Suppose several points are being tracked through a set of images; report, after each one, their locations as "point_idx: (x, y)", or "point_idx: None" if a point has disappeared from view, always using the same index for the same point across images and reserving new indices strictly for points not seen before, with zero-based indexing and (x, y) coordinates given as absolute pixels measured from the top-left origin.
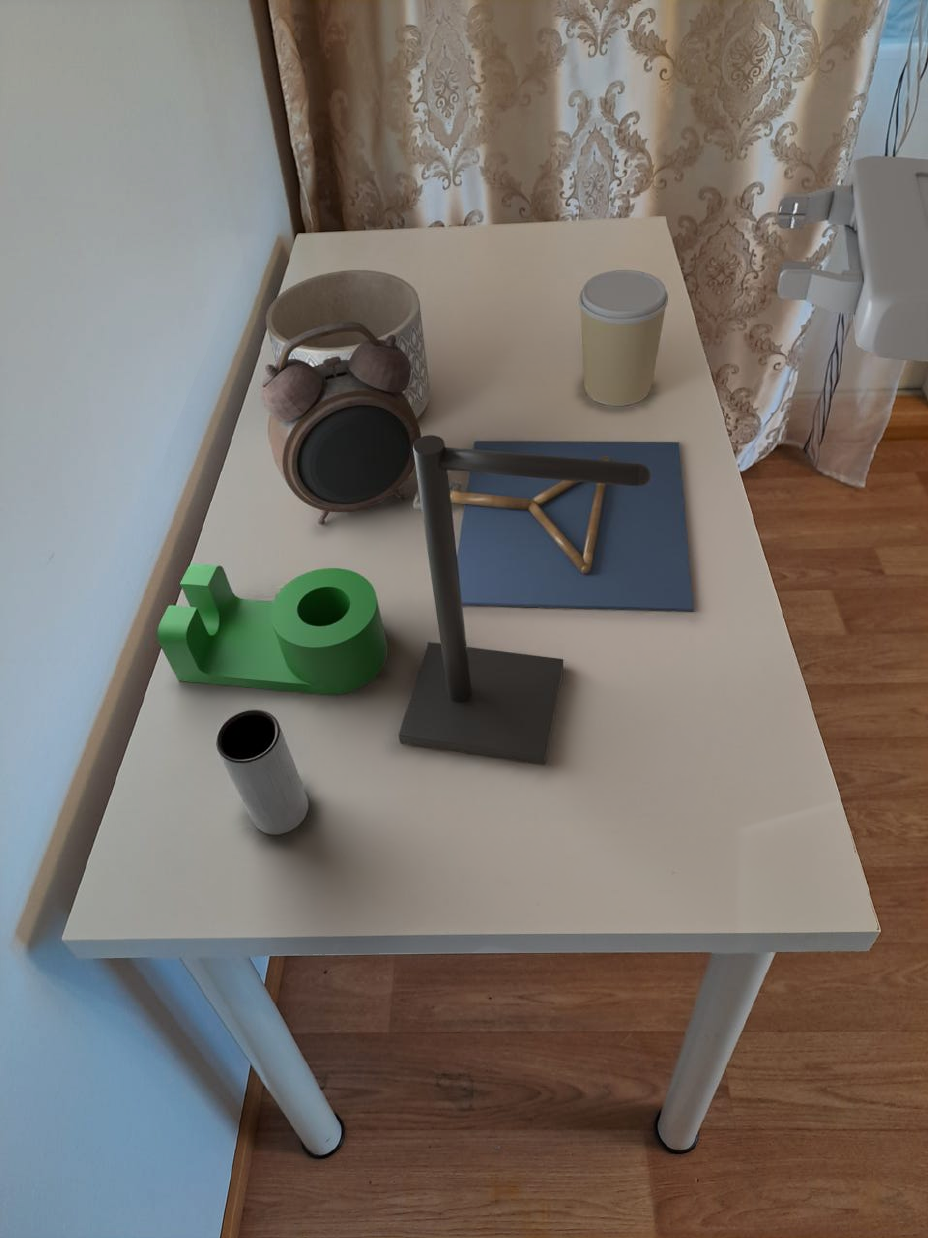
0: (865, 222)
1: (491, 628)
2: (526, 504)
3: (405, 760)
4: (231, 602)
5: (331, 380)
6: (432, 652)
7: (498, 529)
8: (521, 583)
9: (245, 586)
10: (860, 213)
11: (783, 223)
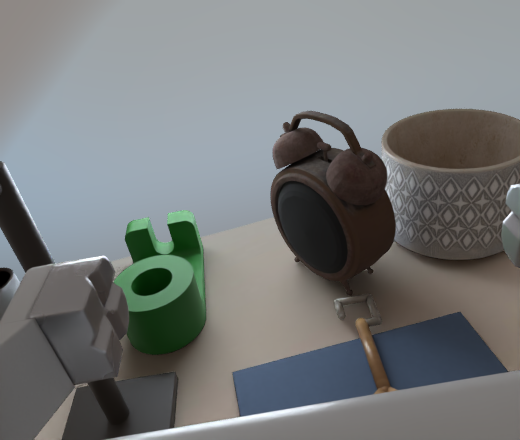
0: (334, 410)
1: (211, 417)
2: (378, 384)
3: (64, 405)
4: (193, 249)
5: (318, 160)
6: (163, 378)
7: (340, 376)
8: None
9: (223, 253)
10: (479, 378)
11: (511, 246)
